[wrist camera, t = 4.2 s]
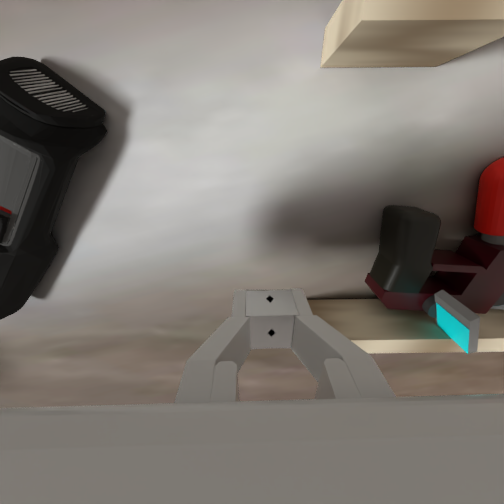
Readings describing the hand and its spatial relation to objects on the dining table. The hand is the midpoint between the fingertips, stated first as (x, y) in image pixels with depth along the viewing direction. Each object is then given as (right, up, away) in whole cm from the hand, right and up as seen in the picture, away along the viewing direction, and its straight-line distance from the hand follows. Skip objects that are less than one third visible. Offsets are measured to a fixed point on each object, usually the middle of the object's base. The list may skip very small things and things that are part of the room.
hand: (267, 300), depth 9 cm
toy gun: (+13, +3, +4) cm, 14 cm away
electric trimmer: (-13, +4, +3) cm, 14 cm away
